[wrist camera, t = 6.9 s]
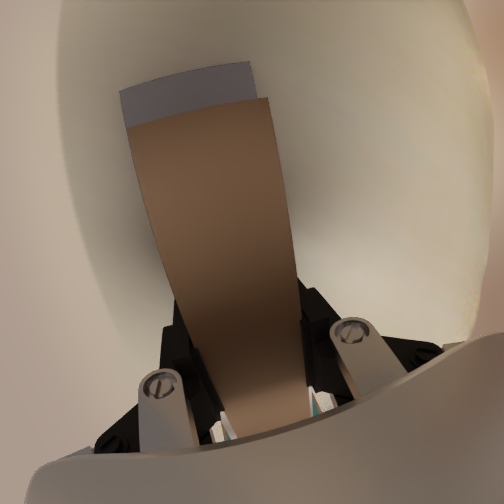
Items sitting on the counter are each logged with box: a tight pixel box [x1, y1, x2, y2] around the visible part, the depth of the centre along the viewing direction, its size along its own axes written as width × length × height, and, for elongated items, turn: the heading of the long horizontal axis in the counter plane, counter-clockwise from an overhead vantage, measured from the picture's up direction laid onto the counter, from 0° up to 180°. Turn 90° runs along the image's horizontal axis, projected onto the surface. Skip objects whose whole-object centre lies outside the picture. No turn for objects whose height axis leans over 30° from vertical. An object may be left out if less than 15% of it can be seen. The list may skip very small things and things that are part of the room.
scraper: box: [127, 97, 313, 440], centre depth 10 cm, size 18×5×4 cm, turn 11°
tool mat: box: [119, 61, 257, 211], centre depth 15 cm, size 18×7×1 cm, turn 12°
